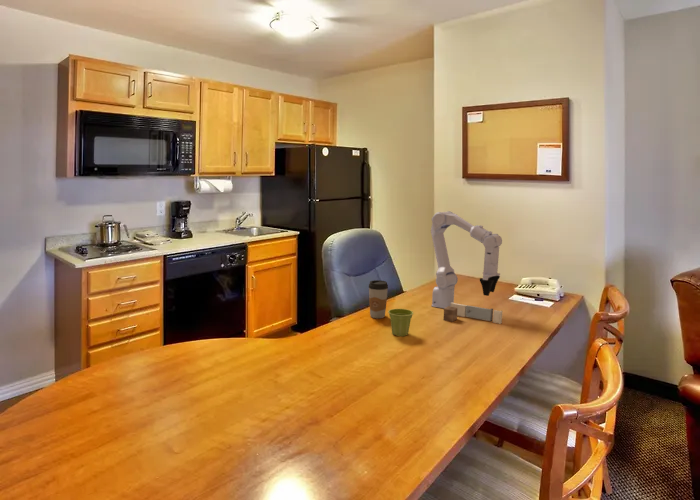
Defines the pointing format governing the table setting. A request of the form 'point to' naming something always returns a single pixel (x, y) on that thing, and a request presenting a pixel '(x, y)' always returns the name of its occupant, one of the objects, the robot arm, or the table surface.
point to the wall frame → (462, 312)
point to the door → (479, 313)
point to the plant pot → (400, 321)
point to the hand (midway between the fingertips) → (488, 293)
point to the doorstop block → (450, 314)
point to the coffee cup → (378, 298)
